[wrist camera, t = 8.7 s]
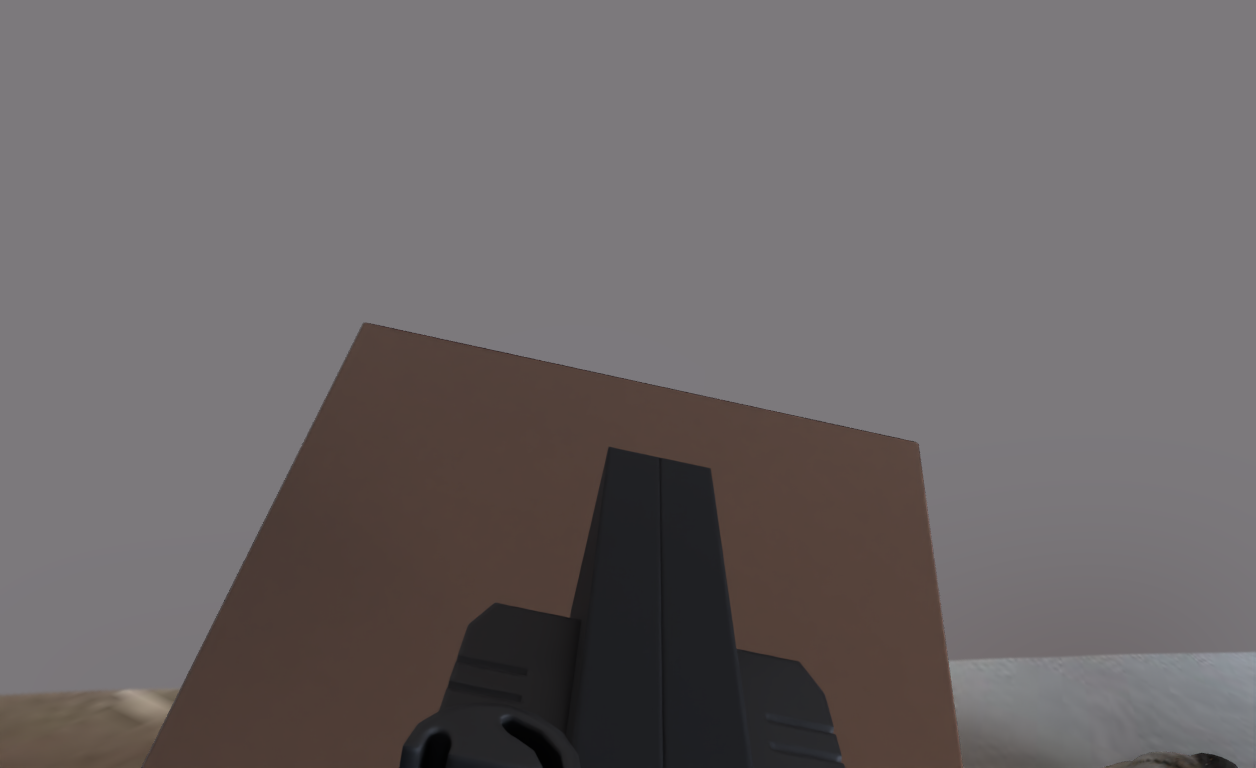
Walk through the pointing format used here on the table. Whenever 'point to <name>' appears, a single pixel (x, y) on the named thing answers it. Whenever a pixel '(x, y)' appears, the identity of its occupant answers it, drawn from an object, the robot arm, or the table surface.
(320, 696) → the caddy lid
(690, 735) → the robot arm
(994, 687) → the table surface
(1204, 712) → the table surface
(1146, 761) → the ceramic sculpture
